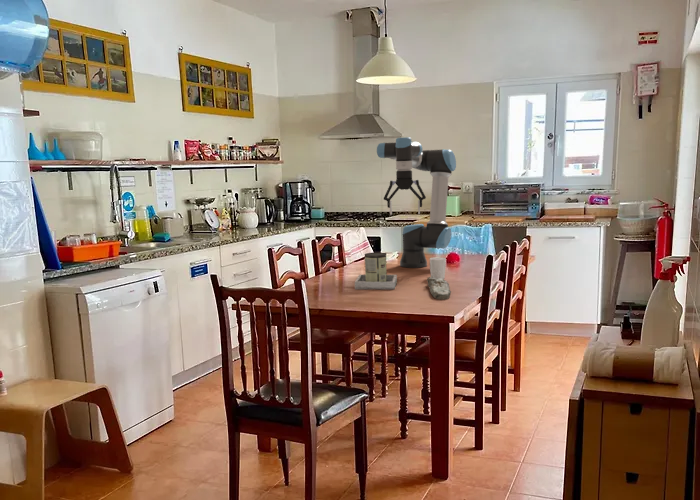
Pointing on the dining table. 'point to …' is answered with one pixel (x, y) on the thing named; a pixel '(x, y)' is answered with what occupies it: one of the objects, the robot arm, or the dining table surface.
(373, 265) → the coffee can
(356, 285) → the square holder
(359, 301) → the dining table surface
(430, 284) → the elongated rock
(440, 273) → the white cup
